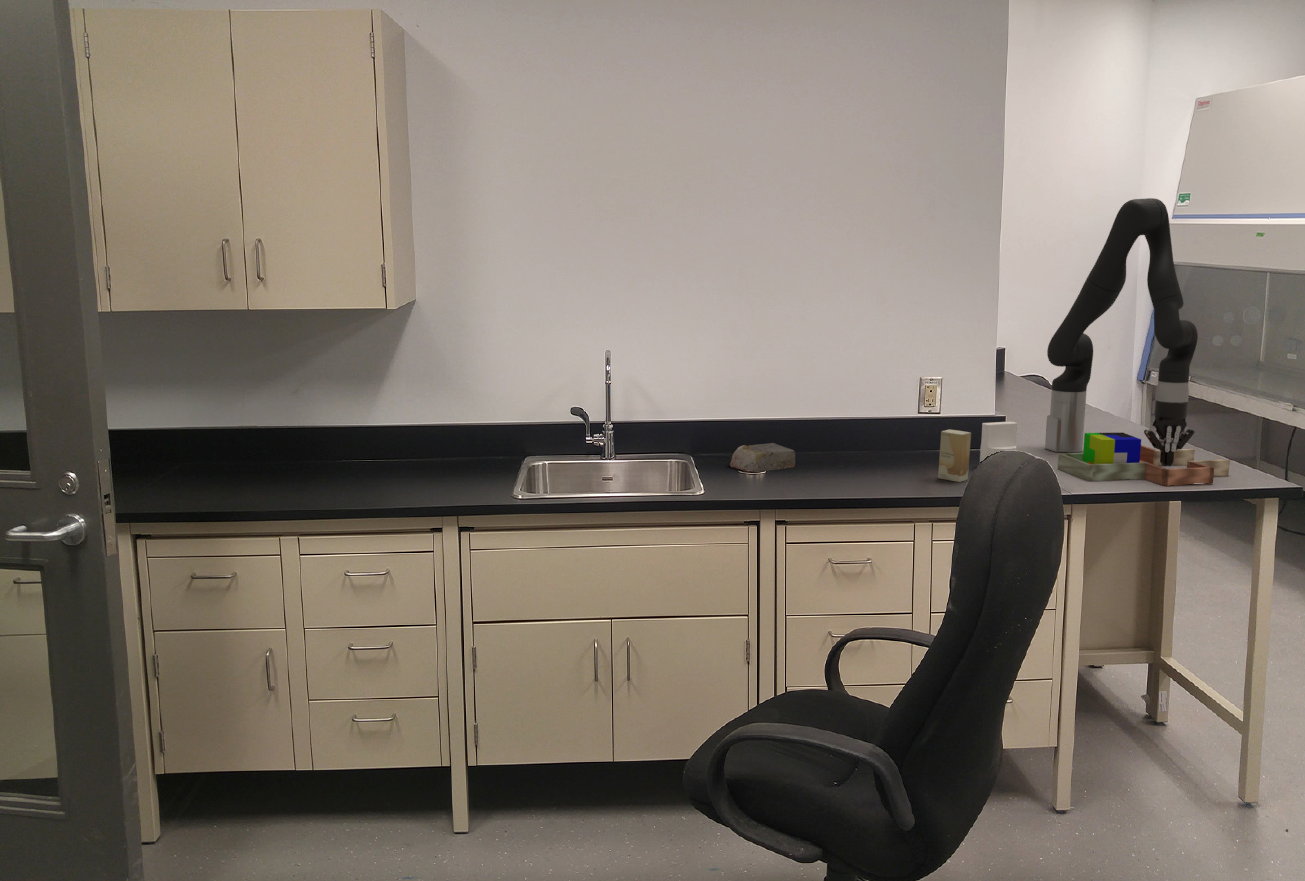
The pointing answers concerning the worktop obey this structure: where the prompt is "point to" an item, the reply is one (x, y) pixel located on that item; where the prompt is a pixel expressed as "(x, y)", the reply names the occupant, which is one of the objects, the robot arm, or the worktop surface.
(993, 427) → the base with upright slab
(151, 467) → the worktop surface
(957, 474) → the skincare box
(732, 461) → the geological specimen
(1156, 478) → the open sectioned tray
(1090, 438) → the puzzle toy
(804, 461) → the worktop surface
